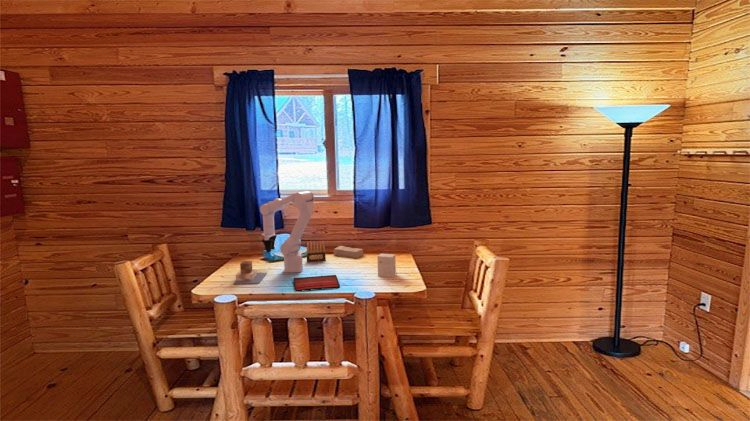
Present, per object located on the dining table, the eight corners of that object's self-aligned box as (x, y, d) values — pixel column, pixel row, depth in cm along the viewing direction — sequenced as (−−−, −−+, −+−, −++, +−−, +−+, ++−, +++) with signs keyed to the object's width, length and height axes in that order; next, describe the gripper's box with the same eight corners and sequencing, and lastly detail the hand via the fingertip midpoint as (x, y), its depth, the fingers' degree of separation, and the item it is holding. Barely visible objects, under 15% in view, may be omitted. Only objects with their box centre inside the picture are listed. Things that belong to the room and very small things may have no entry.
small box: (395, 274, 212) (395, 254, 211) (392, 277, 207) (392, 257, 205) (381, 273, 215) (380, 253, 213) (377, 276, 210) (377, 255, 208)
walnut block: (252, 270, 209) (251, 261, 208) (249, 273, 205) (249, 263, 204) (243, 270, 209) (242, 261, 208) (240, 273, 205) (240, 263, 204)
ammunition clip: (325, 259, 241) (324, 239, 239) (325, 260, 239) (325, 240, 237) (306, 261, 238) (305, 240, 236) (307, 262, 236) (306, 241, 235)
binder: (293, 277, 203) (336, 274, 208) (293, 281, 204) (336, 278, 208) (294, 289, 188) (340, 285, 192) (294, 294, 188) (340, 290, 193)
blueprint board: (266, 273, 215) (266, 267, 215) (258, 284, 200) (258, 276, 199) (243, 274, 215) (242, 267, 215) (233, 284, 199) (233, 277, 199)
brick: (364, 255, 250) (363, 248, 249) (357, 259, 243) (356, 251, 242) (340, 252, 258) (340, 245, 257) (333, 256, 250) (332, 248, 250)
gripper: (264, 223, 231) (265, 247, 233) (258, 228, 217) (259, 253, 219) (277, 223, 231) (278, 247, 233) (271, 228, 217) (273, 253, 219)
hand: (270, 250), depth 226 cm, fingers open, 7 cm apart
